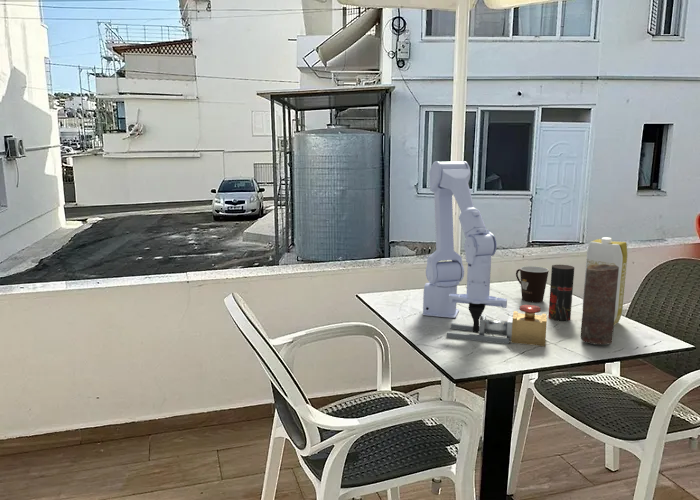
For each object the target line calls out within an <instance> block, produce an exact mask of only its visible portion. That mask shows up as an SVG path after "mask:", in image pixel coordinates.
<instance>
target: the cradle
mask: <svg viewBox="0 0 700 500" xmlns="http://www.w3.org/2000/svg"><path fill="white" fill-rule="evenodd" d="M453 329H454V330H460V331H461V330H462V331H470V332H473V324H461V323H453V322H451V323H450V330H453ZM446 338H451V339H460V340H470V341H478V342H486V343H487V342H488V343H489V342H490V343H499V344H505V345H509V344H510V341H509V338H507V337H504V336H503V337H502V336H495V335H487V334H485V335H479V334H475V333H466V332H465V333H464V332H455V331H446Z"/></svg>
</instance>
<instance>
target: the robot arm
mask: <svg viewBox="0 0 700 500" xmlns="http://www.w3.org/2000/svg"><path fill="white" fill-rule="evenodd" d="M428 173H429V174H428V175H429V179H428V180H429V191H431V192H432V193H434V194H433V195H434V197H433V199H434V219H435V220H434V224H435V229H434V230H435V250H434V251H433V252H432V253H431V254H430V255H428V257H427V258H426V268H425V276H426V280H427V281H428V282H425V284H424V288H423V298H422V299H423V301H422V302H423V303H422V315H423V316H429V317H440V318H450V319H457V316H458V314H459V311H460V310H459V308H457V303H458V304H467V305H468V311H469V313H470V316H471V318H472V321H473V324H472V325H473V331H472V333H477V334H479V326H480V317H481V314H484V313H483V312H484V311H485V308H486V306H489V307H500V308H503V309H506V308H508V307H507V306H508V298H504V297H503V298H502V297H497V296H492V295H490V288H491V286H490V285H491V269H492V268H491V267H492V257H493V256H494V255H495V254H496V251H497V240H496V236H495V235H494V234H493V232H491V230H489V229H487V227H486V223H485V221H484V218H483V216H482V212H481V211H480V209H478V208H476V207H475V205H474V202H473V201H474V200H473V197H472V193H471V189H470V185H469V183H470V179H471V167H470V165H469V163H468V162H467V161H465V160H461V161H438V160H435V161H433V163H432V164H431V166H430V168H429V172H428ZM453 197H454V199H455V201H456V203H457V206H458V208H459V211H460V214H459V216H458V220H459V223H460V226H461V229H462V232H463V235H464V237H465V240H464V243H463V249H464V252H465V262H466V263H467V271H466V272H467V274H466V293H458V286H459V285H460V283H461V282H462V280H463V279H464V276H465V268H464V267H465V266H464V265H463V259H462V255H460V254H459V253H458V252H456V250H455V247H454V246H455V245H454V216H453V214H454V213H453Z"/></svg>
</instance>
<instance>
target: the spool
mask: <svg viewBox="0 0 700 500" xmlns="http://www.w3.org/2000/svg"><path fill="white" fill-rule="evenodd" d="M507 317H508V318H507V321H505V320H497V319H496V320H493V319H487V313H486V314H485V313H482V314H481V316H480V318H479V332H478V335H494V336H495V335H496V336H506V338H509V343H511V338H512V320H513V316H507Z"/></svg>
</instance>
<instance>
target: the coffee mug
mask: <svg viewBox="0 0 700 500" xmlns="http://www.w3.org/2000/svg"><path fill="white" fill-rule="evenodd" d="M519 273H520V275H519ZM549 273H550V270H549V269H548V268H546V267H543V266H533V265H530V266H529V265H528V266H527V265H526V266H522V267H519V268H518V269H517V270H516V273H515V276H516V280H517V281H518V283H519V284H520V290H521V291H520V292H521V300H522V301H523V302H527V303H532V304H533V303H534V304H535V303H536V304H537V303H542V302H544V297H545V291H546V287H547V281H548V276H549ZM519 276H520V277H519Z"/></svg>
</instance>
